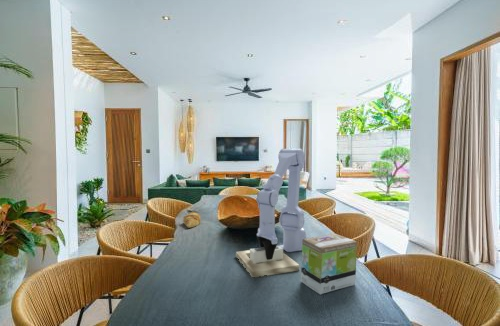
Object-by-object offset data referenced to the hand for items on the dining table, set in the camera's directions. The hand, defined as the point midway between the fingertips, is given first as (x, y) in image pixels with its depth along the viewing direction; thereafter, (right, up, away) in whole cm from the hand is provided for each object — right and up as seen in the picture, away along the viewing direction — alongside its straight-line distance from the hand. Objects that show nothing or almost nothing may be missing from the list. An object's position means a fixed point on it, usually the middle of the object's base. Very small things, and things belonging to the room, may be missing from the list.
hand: (267, 256), depth 107 cm
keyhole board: (0, -3, +1) cm, 3 cm away
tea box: (+19, -4, -15) cm, 25 cm away
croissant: (-41, 0, +58) cm, 71 cm away
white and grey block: (0, -3, 0) cm, 3 cm away
